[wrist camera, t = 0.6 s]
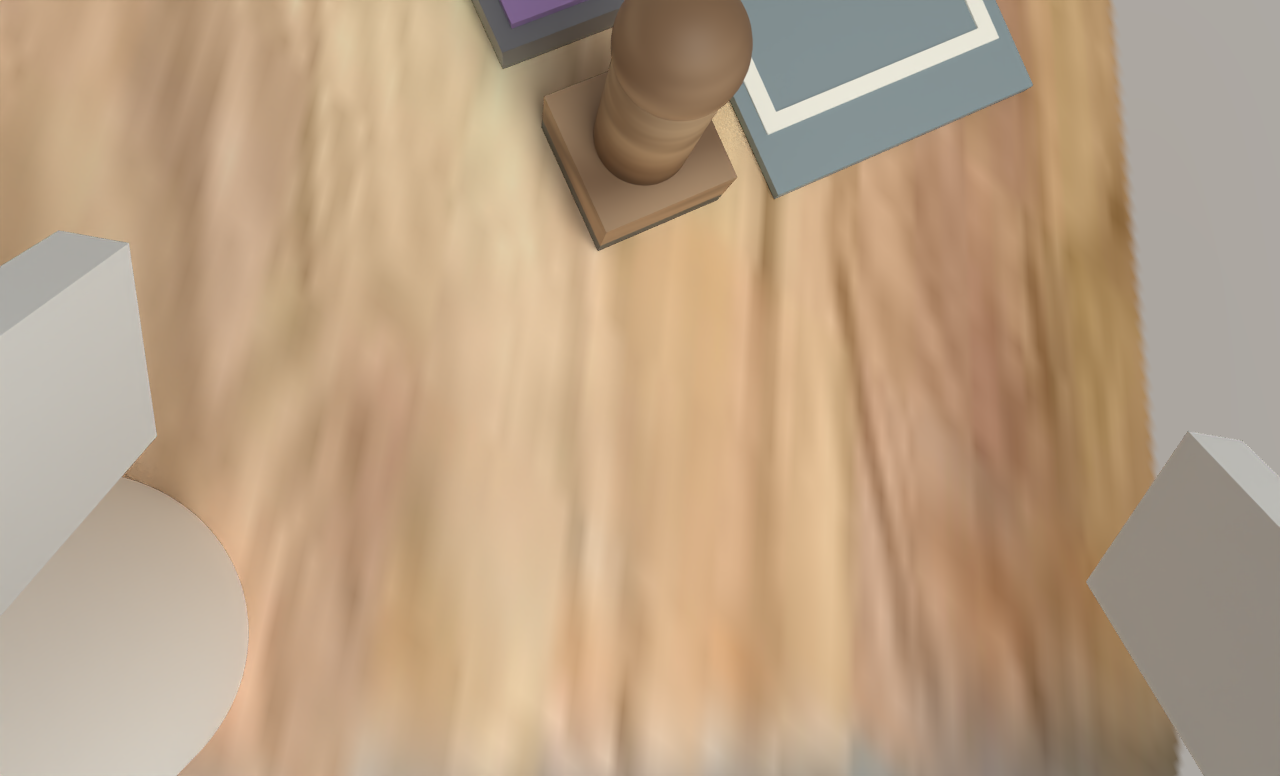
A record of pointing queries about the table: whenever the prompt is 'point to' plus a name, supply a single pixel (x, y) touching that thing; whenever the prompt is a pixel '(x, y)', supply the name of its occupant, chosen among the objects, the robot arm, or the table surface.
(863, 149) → the form board
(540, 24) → the ink pad
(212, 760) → the table surface
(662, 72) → the stamp
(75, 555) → the canister
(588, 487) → the table surface
